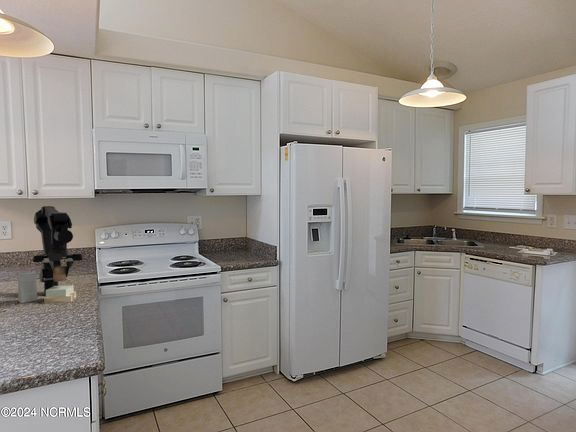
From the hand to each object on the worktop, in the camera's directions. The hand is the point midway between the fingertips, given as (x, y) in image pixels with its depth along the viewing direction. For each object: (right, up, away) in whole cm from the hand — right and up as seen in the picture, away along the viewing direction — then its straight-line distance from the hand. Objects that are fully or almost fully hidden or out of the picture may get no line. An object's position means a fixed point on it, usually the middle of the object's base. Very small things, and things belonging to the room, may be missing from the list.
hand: (59, 276), depth 167 cm
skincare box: (-13, -10, -2) cm, 17 cm away
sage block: (0, -8, 0) cm, 8 cm away
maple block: (0, -11, 0) cm, 11 cm away
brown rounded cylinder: (0, -2, 0) cm, 2 cm away
